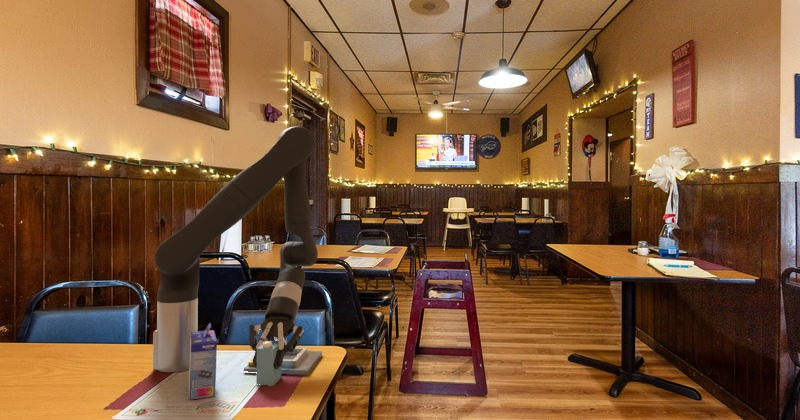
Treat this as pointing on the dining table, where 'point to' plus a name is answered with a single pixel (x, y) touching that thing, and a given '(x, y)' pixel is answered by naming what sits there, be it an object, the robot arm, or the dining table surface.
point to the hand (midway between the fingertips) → (266, 366)
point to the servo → (267, 364)
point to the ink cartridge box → (202, 364)
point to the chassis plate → (294, 362)
